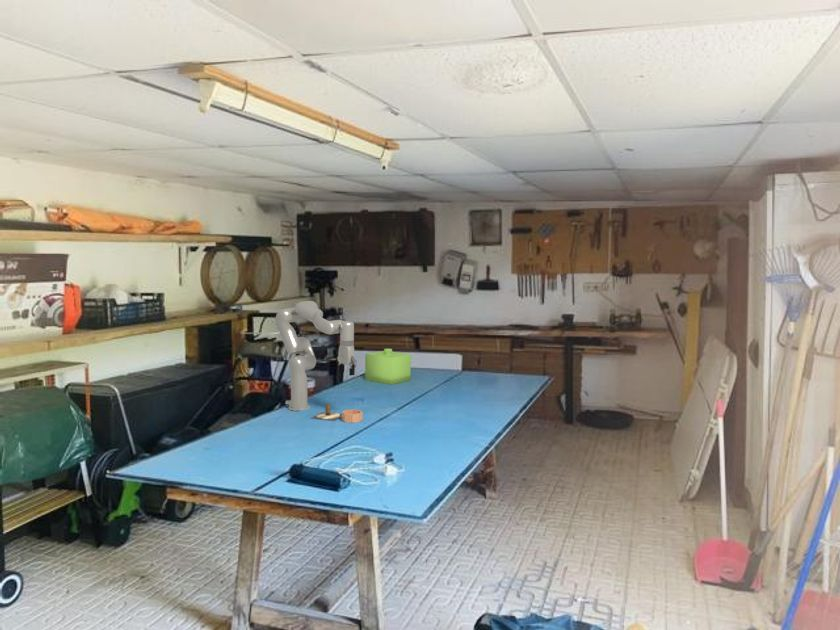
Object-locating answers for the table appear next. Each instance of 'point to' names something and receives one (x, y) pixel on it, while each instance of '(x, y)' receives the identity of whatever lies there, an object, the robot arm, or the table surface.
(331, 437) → the table surface
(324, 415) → the lid
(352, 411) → the bowl
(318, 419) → the mat
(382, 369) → the canister
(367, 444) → the table surface
